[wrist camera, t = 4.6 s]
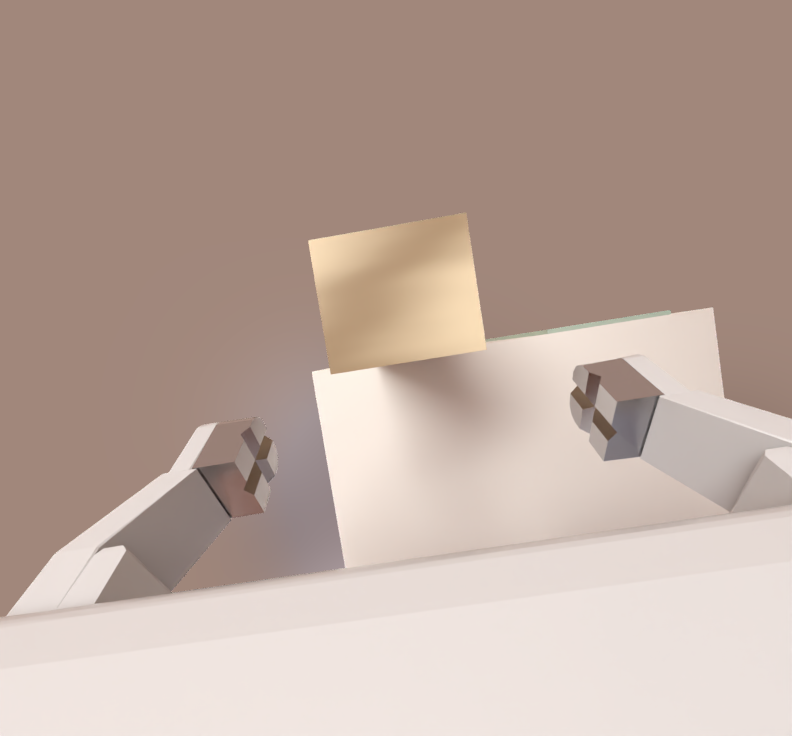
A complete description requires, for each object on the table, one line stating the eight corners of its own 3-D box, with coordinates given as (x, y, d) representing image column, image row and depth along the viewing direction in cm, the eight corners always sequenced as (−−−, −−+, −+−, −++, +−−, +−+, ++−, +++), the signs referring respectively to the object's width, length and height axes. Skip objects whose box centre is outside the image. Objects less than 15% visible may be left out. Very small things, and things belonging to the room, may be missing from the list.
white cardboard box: (615, 609, 32) (576, 325, 31) (774, 807, 18) (712, 303, 17) (399, 636, 33) (353, 360, 32) (392, 846, 19) (311, 368, 18)
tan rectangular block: (427, 351, 32) (422, 318, 32) (486, 349, 8) (466, 212, 8) (389, 357, 32) (384, 324, 32) (330, 374, 8) (308, 240, 8)
